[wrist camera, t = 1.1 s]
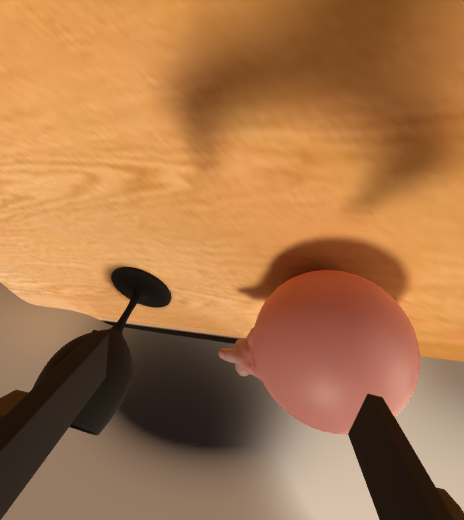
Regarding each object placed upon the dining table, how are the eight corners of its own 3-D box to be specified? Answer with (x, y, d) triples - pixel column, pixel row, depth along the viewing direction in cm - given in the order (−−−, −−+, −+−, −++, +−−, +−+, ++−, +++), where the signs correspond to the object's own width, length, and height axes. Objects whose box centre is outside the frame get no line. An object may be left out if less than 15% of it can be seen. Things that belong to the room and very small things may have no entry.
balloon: (215, 248, 32) (163, 374, 22) (409, 231, 24) (467, 419, 14) (251, 317, 42) (226, 426, 32) (397, 322, 34) (425, 470, 24)
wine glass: (156, 311, 49) (93, 436, 36) (105, 282, 45) (15, 408, 32) (182, 293, 42) (115, 440, 29) (123, 257, 38) (17, 404, 25)
